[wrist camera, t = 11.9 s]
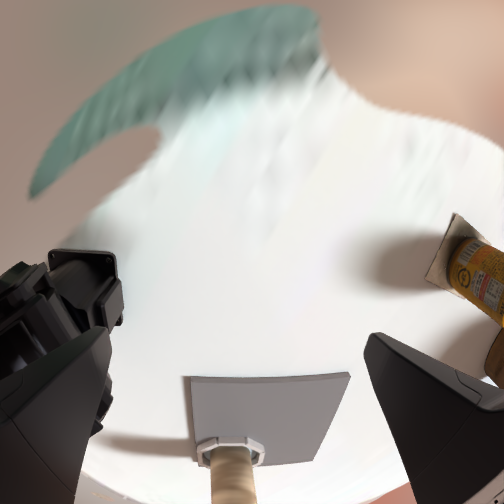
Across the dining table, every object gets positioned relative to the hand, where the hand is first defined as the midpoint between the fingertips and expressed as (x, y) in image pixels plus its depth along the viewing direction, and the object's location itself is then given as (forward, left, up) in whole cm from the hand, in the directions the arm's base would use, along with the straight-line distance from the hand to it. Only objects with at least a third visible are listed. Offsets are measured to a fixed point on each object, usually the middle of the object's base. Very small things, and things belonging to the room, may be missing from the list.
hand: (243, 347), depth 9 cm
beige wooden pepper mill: (+1, -28, -12) cm, 30 cm away
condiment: (+24, -1, -13) cm, 27 cm away
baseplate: (+5, -23, -13) cm, 27 cm away
